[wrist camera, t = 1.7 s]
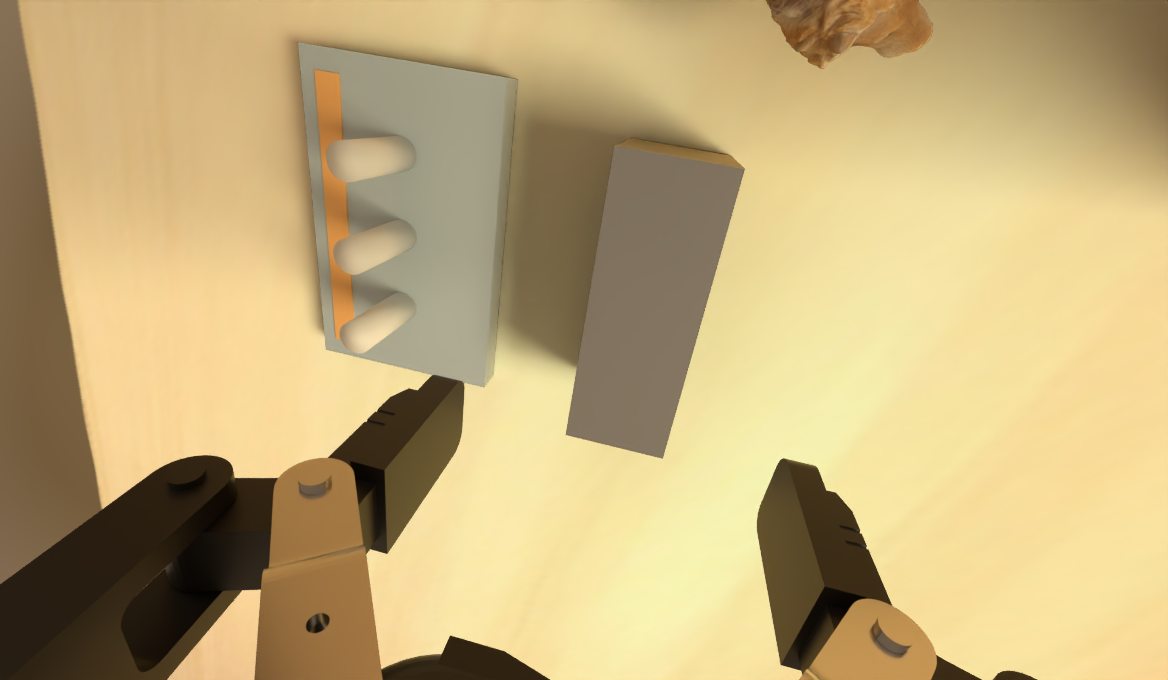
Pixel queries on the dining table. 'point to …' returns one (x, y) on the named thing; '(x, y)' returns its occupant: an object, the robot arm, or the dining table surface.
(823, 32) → the lion figurine
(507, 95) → the board
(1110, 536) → the dining table surface
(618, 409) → the block
